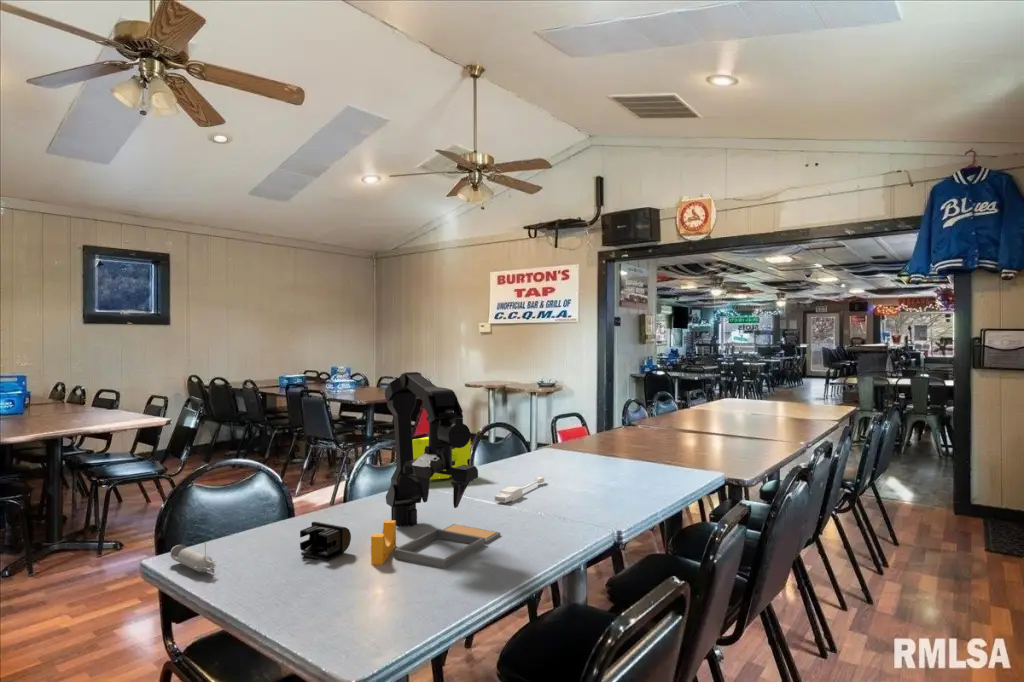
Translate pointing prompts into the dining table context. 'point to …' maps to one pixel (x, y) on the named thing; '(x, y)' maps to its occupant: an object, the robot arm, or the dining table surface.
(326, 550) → the end cap
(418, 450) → the cheese wedge
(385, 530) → the pipe clamp
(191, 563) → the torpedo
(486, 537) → the lid
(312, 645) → the dining table surface
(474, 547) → the gray rectangular frame
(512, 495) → the charging cable
